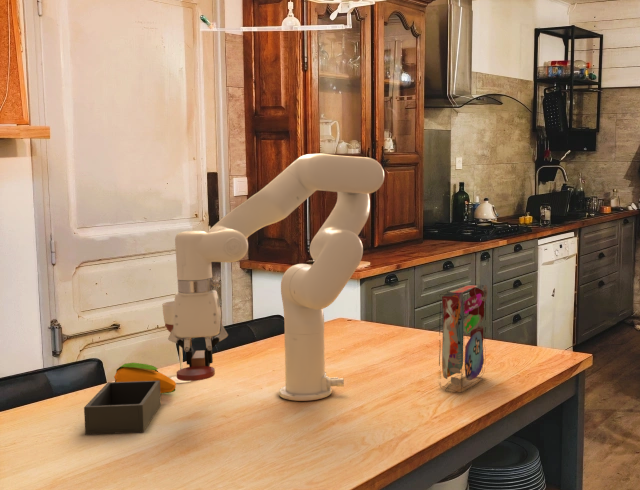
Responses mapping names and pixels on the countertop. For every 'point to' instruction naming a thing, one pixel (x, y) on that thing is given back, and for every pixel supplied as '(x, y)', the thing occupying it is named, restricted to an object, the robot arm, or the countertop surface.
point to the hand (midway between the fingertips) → (199, 366)
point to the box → (457, 327)
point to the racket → (196, 369)
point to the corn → (144, 376)
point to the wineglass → (169, 318)
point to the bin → (122, 407)
